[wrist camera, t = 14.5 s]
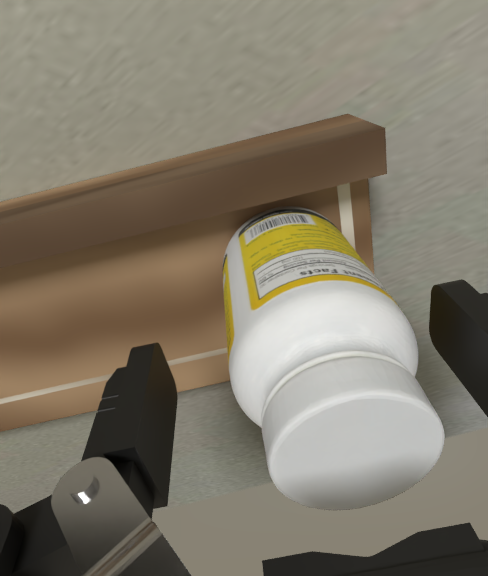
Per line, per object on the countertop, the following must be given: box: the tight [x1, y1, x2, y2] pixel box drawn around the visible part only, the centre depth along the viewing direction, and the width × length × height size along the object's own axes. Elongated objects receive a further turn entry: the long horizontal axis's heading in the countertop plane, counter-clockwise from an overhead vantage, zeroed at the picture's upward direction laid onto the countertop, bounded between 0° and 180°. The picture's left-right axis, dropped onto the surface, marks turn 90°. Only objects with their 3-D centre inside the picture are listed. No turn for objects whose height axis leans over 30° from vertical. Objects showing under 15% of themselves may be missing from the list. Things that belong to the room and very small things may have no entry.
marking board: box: [0, 114, 387, 432], centre depth 18 cm, size 11×26×4 cm, turn 103°
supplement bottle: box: [223, 206, 445, 510], centre depth 13 cm, size 5×5×10 cm
